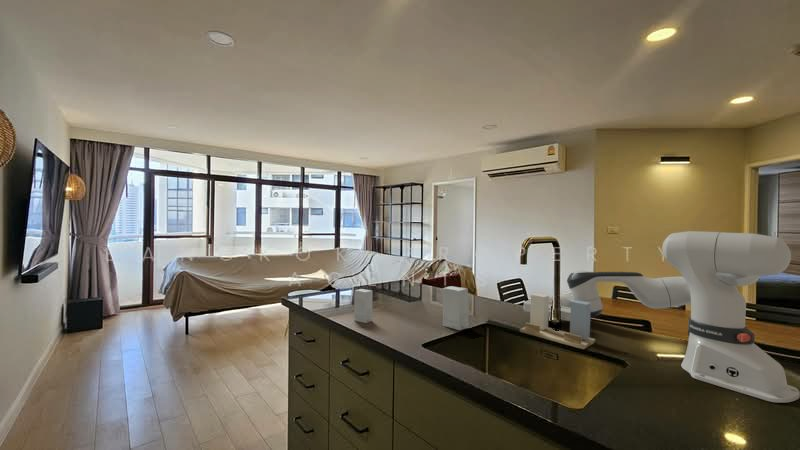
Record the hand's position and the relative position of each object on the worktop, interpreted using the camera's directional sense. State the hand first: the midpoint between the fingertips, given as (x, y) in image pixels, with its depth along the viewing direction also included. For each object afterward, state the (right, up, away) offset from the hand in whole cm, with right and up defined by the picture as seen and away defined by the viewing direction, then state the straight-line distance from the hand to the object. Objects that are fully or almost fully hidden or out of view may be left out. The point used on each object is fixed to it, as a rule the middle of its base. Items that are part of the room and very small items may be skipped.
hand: (541, 313), depth 131 cm
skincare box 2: (-32, -5, +1) cm, 33 cm away
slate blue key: (+9, -5, -11) cm, 15 cm away
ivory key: (-2, -5, -1) cm, 5 cm away
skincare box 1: (-68, -4, +6) cm, 68 cm away
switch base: (+2, -6, -7) cm, 10 cm away
